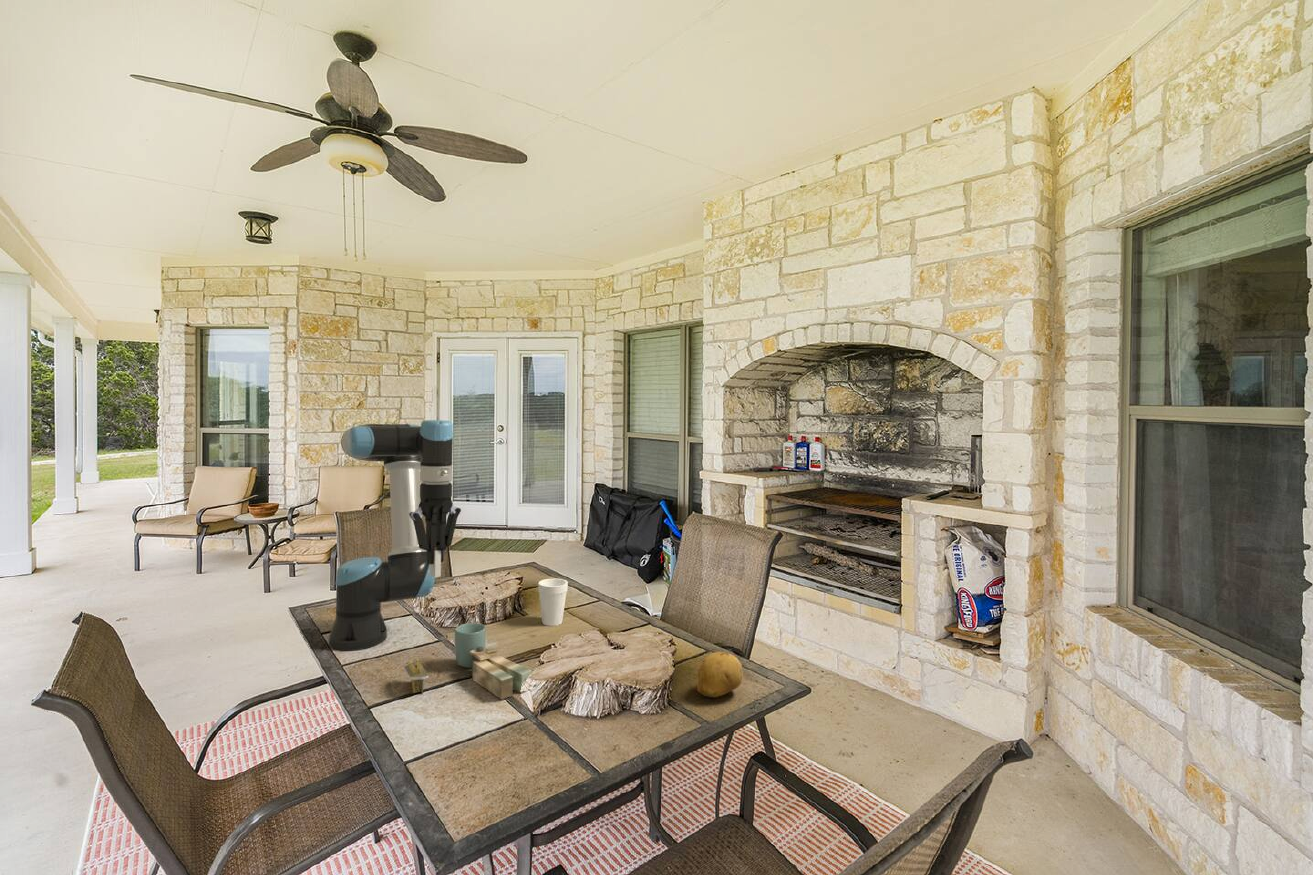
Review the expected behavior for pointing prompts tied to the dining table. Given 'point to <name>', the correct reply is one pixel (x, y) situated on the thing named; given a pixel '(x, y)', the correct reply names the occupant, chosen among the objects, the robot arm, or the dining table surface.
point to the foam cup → (552, 600)
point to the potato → (719, 674)
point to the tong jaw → (491, 675)
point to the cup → (468, 642)
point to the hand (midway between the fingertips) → (435, 575)
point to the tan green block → (508, 669)
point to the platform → (416, 675)
